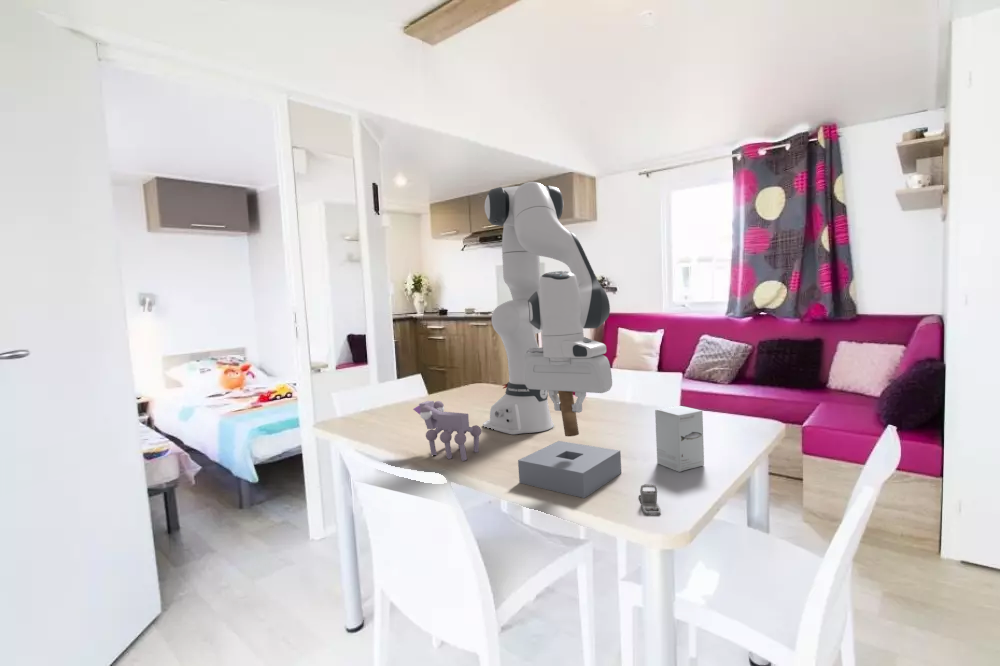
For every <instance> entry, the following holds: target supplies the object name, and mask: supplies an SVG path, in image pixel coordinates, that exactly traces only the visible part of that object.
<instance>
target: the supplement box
mask: <svg viewBox="0 0 1000 666" xmlns="http://www.w3.org/2000/svg"><path fill="white" fill-rule="evenodd" d="M654 413H655V415H654V416H655V441H656V444H655V445H656V463H657V464H659V465H661V466H663V467H665V468H668V469H671V470H674V471H676V472H678V473H682V472H683V471H686V470H691V469H695V468H698V467H703V466H705V455H704V453H705V448H704V421H703V420H704V418H703V415H704V414H703V410H701V409H697V408H693V407H688V406H684V405H683V406H682V405H675V406H670V407H663V408H658V409H655V411H654Z"/></svg>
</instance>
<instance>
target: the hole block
mask: <svg viewBox="0 0 1000 666" xmlns="http://www.w3.org/2000/svg"><path fill="white" fill-rule="evenodd" d="M621 458H622V456H621V450H619V449H613V448H606V447H600V446H593V445H587V444H581V443H575V442H570V441H569V442H568V441H563V440H558V441H556V442H553V443H552V444H551V443H550V444H549V445H547V446H545V447H543V448H541V449H538V450H537V451H535V452H532V453H530V454H528V455H526V456H523V457H522V458H520V459H517V465H518V467H517V468H518V483H519V484H523V485H528V486H531V487H536V488H540V489H543V490H548V491H553V492H557V493H561V494H565V495H569V496H574V497H577V498H581V499H585V498H587V497H588V496H590V495H591V494H592V493H594V492H596V491H597V490H598V489H600V488H601V487H603V486H604V485H606V484H607V483H609V482H610V481H612V480H613V479H615V478H616V477H618V476H619V475H620V474H622V459H621Z"/></svg>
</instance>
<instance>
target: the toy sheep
mask: <svg viewBox="0 0 1000 666" xmlns="http://www.w3.org/2000/svg"><path fill="white" fill-rule="evenodd" d="M412 410H413V411H414V412H416V413H417V414H419V416H420V418H421V419H423V420H424V424H425V427H426V428H427V431H426V433H425V437H426V440H428V443H429V449H430V453H431V455H430V456H432V455H436V456H437V454H438V453H437V448H436V443H435V440H437V437H438V434H439V433H440V435H439V440H440V442H441V443H443V444H444V447H445V448H444V449H445V454H446V458H448V459H447V460H450V459H452V458H453V454H452V447H451V441H452V437H453V436H452V434H453V433H454V432H456V434H455V435H454V437H453V438H454V442H455V444H457V445H458V447H457V449H458V450H459V449H460V450H459V452H460V458H461V462H464V461H467V459H468V457H467V452H466V446H465V445H466V444H465V443H466V442H467V436H466V434H467V432H469V433H470V435H471V436H472V438H473V452H474V453H479V451H480V450H479V449H480V436H481V435H482V427H480V426H479V425H472V426H470V419H469V413H465V412H464V413H463V412H454V411H453V412H451V411H445V406H444V403H443V402H442V401H441V400H436V401H435V402H434V400H427V401H424V402H419V404H418V405H417V406H415V407H414V408H413V409H412Z"/></svg>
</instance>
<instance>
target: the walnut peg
mask: <svg viewBox="0 0 1000 666" xmlns="http://www.w3.org/2000/svg"><path fill="white" fill-rule="evenodd" d="M558 393H559V394H558V397H559V399H560V406H561V411H560V413H561V417H562V424H563V431H564V436H565V437H575V436H578V435H579V434H580V432H579V431H580V430H579V427H578V419H577V412H572V409H573V408H572V404H574V403H575V399H574V392H571V391H558Z"/></svg>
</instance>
